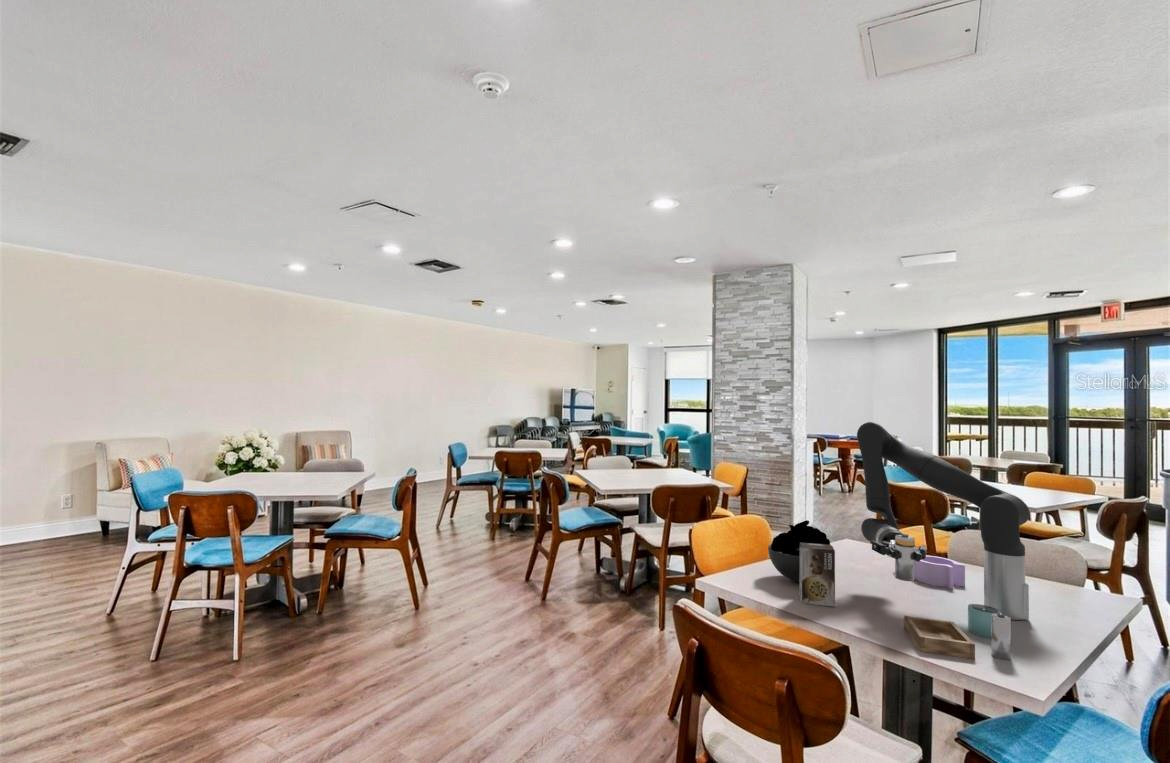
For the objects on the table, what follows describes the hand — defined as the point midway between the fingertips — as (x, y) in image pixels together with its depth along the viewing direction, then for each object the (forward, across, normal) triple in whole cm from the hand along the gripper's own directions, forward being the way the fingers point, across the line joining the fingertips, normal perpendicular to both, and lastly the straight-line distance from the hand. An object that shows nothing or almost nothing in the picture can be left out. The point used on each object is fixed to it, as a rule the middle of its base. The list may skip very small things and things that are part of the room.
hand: (907, 556), depth 143 cm
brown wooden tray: (+9, +4, +18) cm, 21 cm away
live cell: (-3, 0, +6) cm, 7 cm away
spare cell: (+12, +16, +18) cm, 27 cm away
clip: (-52, +18, +18) cm, 58 cm away
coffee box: (-11, -21, +18) cm, 30 cm away
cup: (-3, +18, +18) cm, 26 cm away
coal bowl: (-30, -24, +18) cm, 42 cm away
